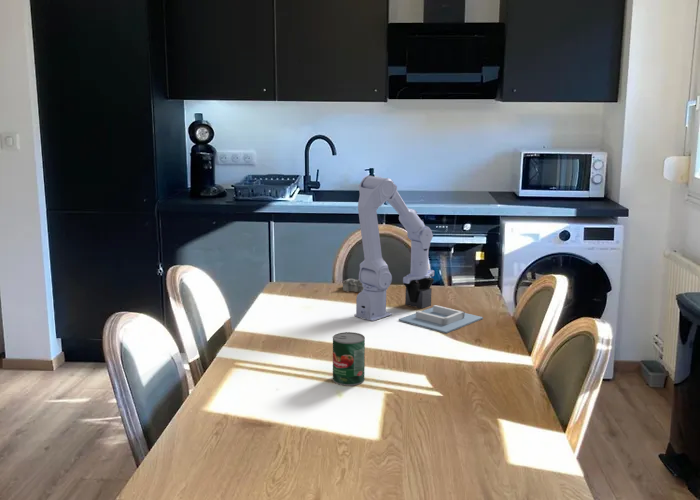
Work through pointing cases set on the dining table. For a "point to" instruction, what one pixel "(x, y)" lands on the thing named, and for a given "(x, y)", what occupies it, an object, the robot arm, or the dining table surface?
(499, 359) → the dining table surface
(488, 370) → the dining table surface
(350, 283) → the egg carton
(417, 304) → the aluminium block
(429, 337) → the dining table surface
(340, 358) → the canned tomato
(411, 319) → the coupler cradle
